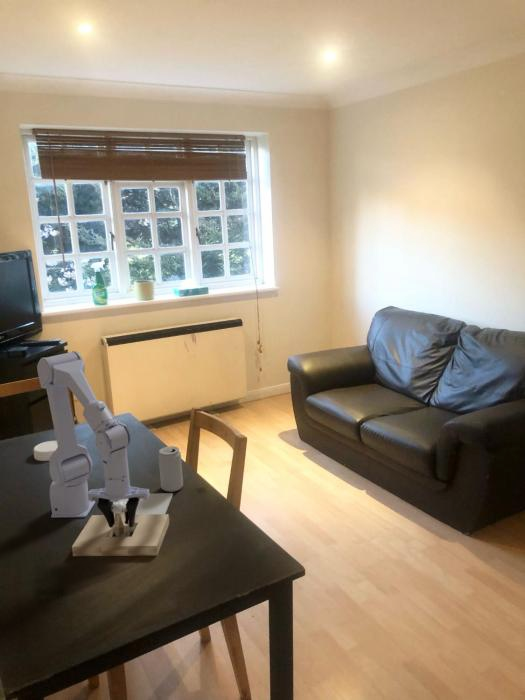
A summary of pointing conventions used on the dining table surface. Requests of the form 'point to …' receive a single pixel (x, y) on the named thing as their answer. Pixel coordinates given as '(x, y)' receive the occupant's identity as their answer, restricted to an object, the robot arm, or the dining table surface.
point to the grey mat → (152, 504)
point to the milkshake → (120, 519)
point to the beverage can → (170, 469)
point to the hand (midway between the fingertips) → (121, 525)
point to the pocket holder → (142, 542)
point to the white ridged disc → (44, 450)
